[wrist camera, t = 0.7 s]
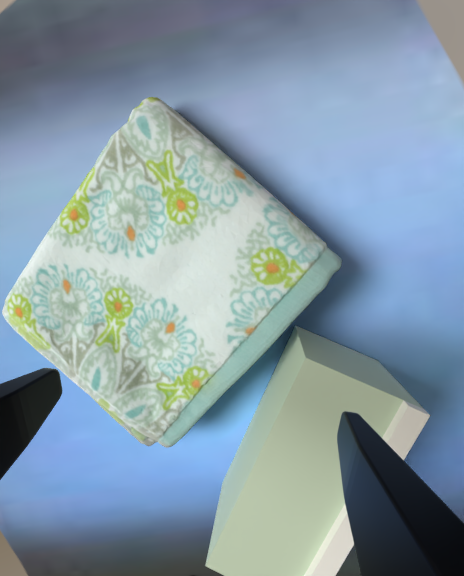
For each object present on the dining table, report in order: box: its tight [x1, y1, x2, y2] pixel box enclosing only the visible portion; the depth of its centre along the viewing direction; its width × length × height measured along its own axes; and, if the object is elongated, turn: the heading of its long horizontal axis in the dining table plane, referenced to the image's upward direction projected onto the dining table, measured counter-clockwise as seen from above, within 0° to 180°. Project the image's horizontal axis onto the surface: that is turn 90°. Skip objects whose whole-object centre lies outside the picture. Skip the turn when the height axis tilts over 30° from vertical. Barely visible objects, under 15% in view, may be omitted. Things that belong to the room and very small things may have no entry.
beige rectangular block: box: [206, 325, 430, 576], centre depth 21 cm, size 16×7×8 cm, turn 158°
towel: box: [2, 97, 342, 447], centre depth 22 cm, size 18×21×5 cm
